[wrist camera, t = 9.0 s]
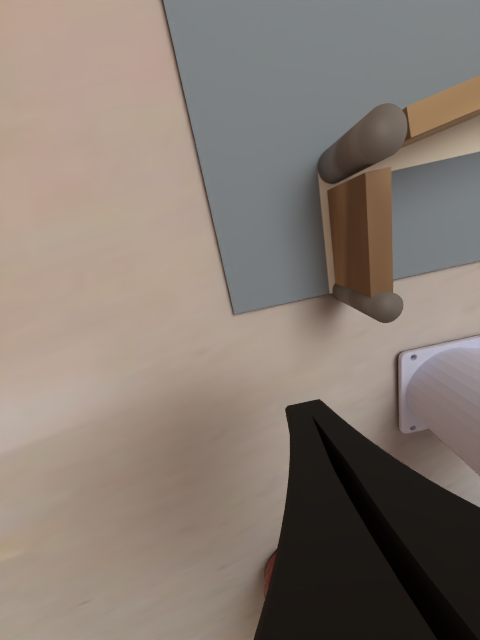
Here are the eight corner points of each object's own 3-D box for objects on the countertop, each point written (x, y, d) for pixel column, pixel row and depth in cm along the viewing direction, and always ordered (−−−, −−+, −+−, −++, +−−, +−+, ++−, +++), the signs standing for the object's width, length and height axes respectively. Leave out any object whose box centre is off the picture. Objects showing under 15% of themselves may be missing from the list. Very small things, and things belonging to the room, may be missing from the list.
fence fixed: (348, 143, 15) (407, 98, 10) (357, 296, 18) (406, 318, 13) (315, 151, 15) (359, 109, 10) (330, 302, 18) (369, 326, 13)
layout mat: (595, -178, 12) (605, -189, 12) (530, 248, 18) (536, 248, 18) (146, -74, 12) (144, -82, 12) (234, 313, 18) (234, 314, 18)
